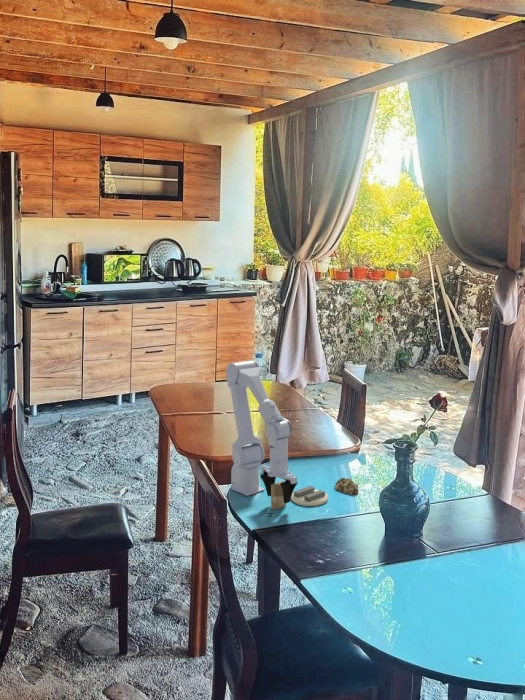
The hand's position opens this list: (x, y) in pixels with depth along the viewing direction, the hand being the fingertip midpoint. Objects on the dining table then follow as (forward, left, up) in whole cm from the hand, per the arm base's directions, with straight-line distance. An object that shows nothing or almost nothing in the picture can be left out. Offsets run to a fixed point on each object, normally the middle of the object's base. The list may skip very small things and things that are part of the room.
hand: (278, 498), depth 232 cm
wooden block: (0, 0, -3) cm, 3 cm away
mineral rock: (+5, +28, -3) cm, 28 cm away
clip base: (+2, +12, -3) cm, 12 cm away
